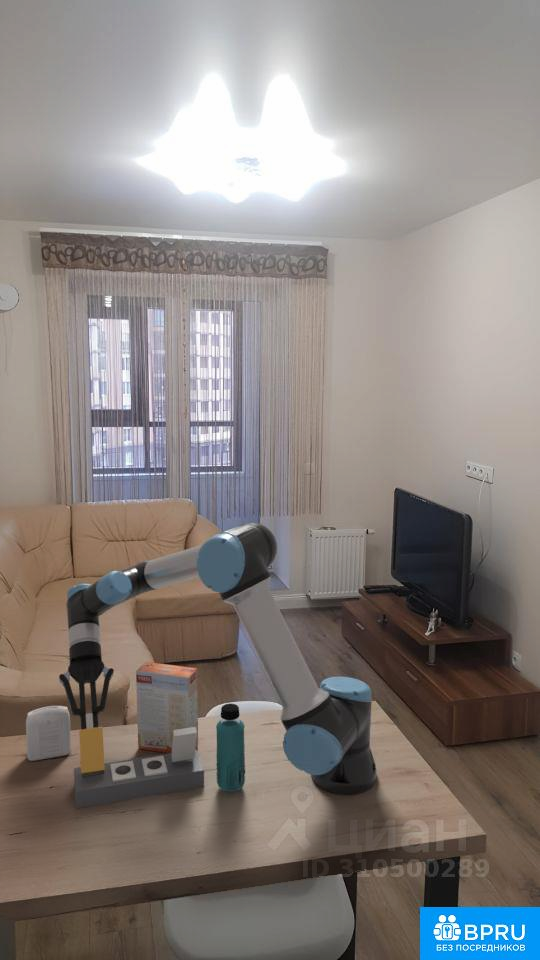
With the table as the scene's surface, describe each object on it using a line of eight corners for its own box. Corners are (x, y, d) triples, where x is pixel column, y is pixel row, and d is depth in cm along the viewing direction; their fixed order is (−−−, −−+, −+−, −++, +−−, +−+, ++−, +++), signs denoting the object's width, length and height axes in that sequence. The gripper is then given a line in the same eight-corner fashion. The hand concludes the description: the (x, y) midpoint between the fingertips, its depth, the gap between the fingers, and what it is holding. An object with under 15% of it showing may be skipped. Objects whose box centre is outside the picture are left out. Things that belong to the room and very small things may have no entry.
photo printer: (70, 746, 173) (68, 699, 171) (72, 755, 169) (70, 708, 167) (26, 754, 170) (24, 707, 167) (27, 763, 166) (24, 715, 163)
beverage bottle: (241, 800, 153) (241, 715, 149) (212, 796, 154) (211, 712, 150) (248, 782, 159) (248, 701, 155) (220, 778, 160) (219, 698, 157)
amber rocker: (104, 773, 155) (102, 726, 157) (104, 774, 154) (102, 727, 156) (81, 776, 154) (79, 729, 156) (81, 778, 152) (79, 730, 154)
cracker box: (199, 745, 174) (198, 667, 170) (189, 758, 168) (188, 677, 165) (148, 736, 178) (146, 659, 174) (137, 749, 172) (135, 669, 168)
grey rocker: (192, 755, 161) (195, 726, 156) (194, 761, 160) (196, 732, 155) (171, 759, 160) (173, 730, 155) (172, 765, 159) (174, 736, 153)
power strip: (196, 764, 166) (196, 746, 165) (204, 786, 157) (203, 768, 157) (74, 784, 158) (73, 766, 157) (75, 808, 149) (75, 789, 148)
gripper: (111, 648, 176) (119, 743, 163) (57, 654, 172) (61, 752, 159) (112, 636, 170) (120, 734, 157) (56, 642, 166) (60, 743, 153)
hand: (90, 743), depth 158 cm, fingers closed
